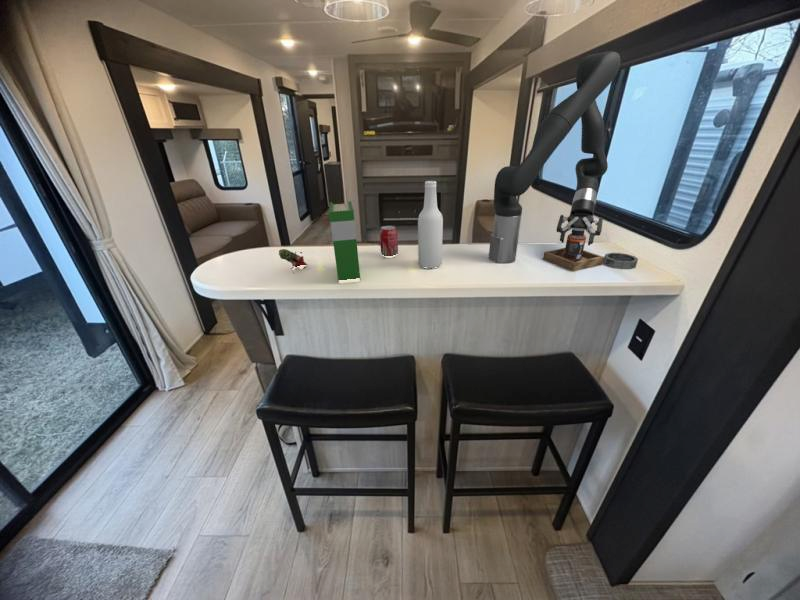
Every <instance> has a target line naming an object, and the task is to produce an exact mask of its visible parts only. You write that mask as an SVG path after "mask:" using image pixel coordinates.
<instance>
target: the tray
mask: <svg viewBox="0 0 800 600" xmlns="http://www.w3.org/2000/svg"><path fill="white" fill-rule="evenodd" d="M564 252H565V247H563V248H557V249H551V250H546V251H543V255H542V260H544V261H546V262H548V263H551V264H553V265H555V264H556V265H555V266H558V267H561V268H563V269H565V270H569V271H571V272H576V271H583V270H586V269H589V268H595V267H598V266H602V265H603V264H604V263H603V260H604V256H602V255H599V254H596V253H592V252H590V251H587V250H584V249H583V254H582V258H581V260H580V261H570V260H568V259H565V258H564Z"/></svg>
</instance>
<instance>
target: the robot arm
mask: <svg viewBox="0 0 800 600" xmlns="http://www.w3.org/2000/svg"><path fill="white" fill-rule="evenodd" d="M621 62H622V60H621V56H620V54H619V53H618V52H616V51H609V50H608V51H604V52H598V53H593V54H589V55H586V56H585V57H583V58H582V59H581V60H580V62H579V64H578V65H577V68H576V72H575V83H576V84H575V85H576V90H575V91H574V92H572V94H570V95H569V96H568V97H566V98H564V100H562V101H561V102H559V103H558V104H557V105H555V107H553V108H552V109H551V110H550V111H549V112H548V114H547V115H546V116H545V117H544V119H542V121H541V123H540V124H539V126H538V127H537V129H536V131H535V133H534V137H533V141H532V146H531V149H530V151H529V152H528V154H527V155H526V156H525V158H524V159H523V160H522V161H521V162H520V164H519V165H518V166H512V165H510V166H509V165H507V166H504V167H502V168H501V169H500V170H498V172H497V174H496V177H495V180H494V189H493V190H494V191H493V192H494V193H493V206H494V211H495V212H494V222H493V230H492V232H493V233H492V234H491V235H490V238H489V240H490V241H489V249H488V250H489V251H488V259H489V260H491V261H492V262H493V261H494V262H495V263H497V264H501V263H502V264H508V263H513V262H515V261H516V259H517V253H518V244H519V238H520V228H521V223H522V221H521V220H522V213H523V207H522V205H521V204H520V203H519V201H518V199H517V197H520V196H522V195H523V194H525V193H526V192H527V191H528V190H529V188H530V187H531V186H532V184H533V182H534V181H535V179H536V178H537V176H538V175H539V173H540V172H541V170H542V168H543V167H544V165H545V164H546V163H547V161H548V160H549V159H550V158H551V156H552V155H553V153H554V152H555V150H556V149H557V148H558V147H559V145H560V144H562V142H563V141H564V140H565V138H566V137H567V135H568V134H569V133H570V132H571V131H572V129H573V127H574V126H575V125H576V124H577V122H578V121H579V120H580V119H581V139H580V140H581V141H580V142H581V143H580V145H581V146H580V147H581V150H580V151H581V152H582V153H584V154H589V155H590V154H591V155H594V157H588V158H581V159H580V160H578V161H577V163H576V165H575V169H574V171H575V175H576V181H577V182H576V187H575V193H574V196H573V199H572V203H571V208H570V212H569V216H565V215H563V214H560V216H559V218H558V222H557V226H556V230H555V231H556V232H557V233H560V236H559V241H560V243H562V244H564V242H565V237H566V233H568V231H570V230H571V231H572V229H573V228H582V229H585V231H586V233H588V235H589V236H588V242H587V246H590V245H593V243H594V239H595V236H597V237H598V236H601V233H602V231H603V220H604V219H603V217H598V218H594V213H595V207H596V203H597V194H598V188H599V180H598V178H597V177H602V176H604V175H605V174H606V173H607V171H608V168H609V167H608V160H607V156H606V153H605V146H604V142H605V141H604V140H605V139H604V137H605V122H604V119H603V116H602V114H601V111H600V109H599V106H598V104H597V101H596V99H597V98H598V97H599V96H600V95H601V94H602V93H603V92H604V91H605V90H606V88H608V87H609V85H610V84H611V83H612V82H613V80H614V79H615V78H616V76H617V75H618V72H619V70H620V67H621ZM566 221H567V222H568V223H566ZM564 223H566V225H565V226H564V227H562V225H563V224H564ZM593 223H594V225H595V226H596V230H595V229H594V226H593V225H592V224H593Z"/></svg>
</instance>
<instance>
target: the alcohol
mask: <svg viewBox="0 0 800 600" xmlns="http://www.w3.org/2000/svg"><path fill="white" fill-rule="evenodd" d="M437 183H438V182H437V181H436V180H426V181H425V182H424V198H423V199H424V200H423V208H422V210H421V212H419V215H418V219H417V230H418V231H417V248H418V249H417V253H418V255H417V257H418V259H417V260H418V265H419V267H420V266H422V267H427V268H435V267H438V268H440V267H441V266H442V264H443V231H444V230H443V229H444V226H443V225H444V223H443V222H444V218H443V213H442V212H441V211H440V210H439V208H438V199H437V197H438V195H437ZM440 265H441V266H440ZM439 266H440V267H439ZM422 267H421V268H422Z"/></svg>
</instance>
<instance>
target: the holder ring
mask: <svg viewBox="0 0 800 600" xmlns="http://www.w3.org/2000/svg"><path fill="white" fill-rule="evenodd" d="M603 257H604V260H603V263H602V264H604V265H605V266H607V267H610V268H614V269H620V270H632V269H633V270H634V269H636V267H637V264H638V261H639V258H638V257H636V256H634V255H632V254H628V253H623V252H622V253H621V252H609V253H605V254H604V256H603Z"/></svg>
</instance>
